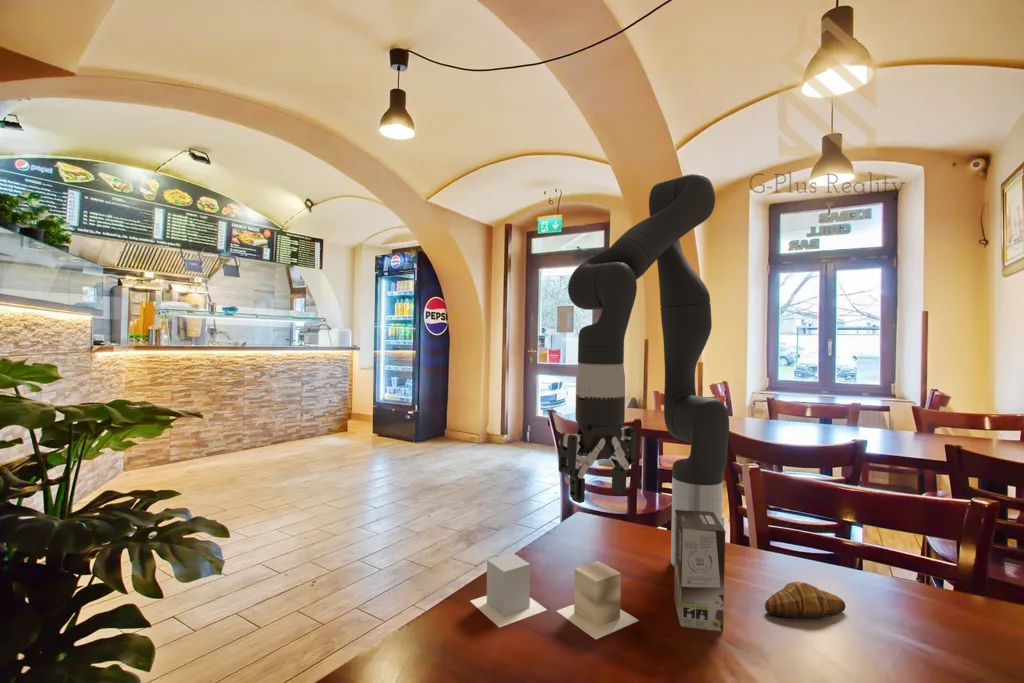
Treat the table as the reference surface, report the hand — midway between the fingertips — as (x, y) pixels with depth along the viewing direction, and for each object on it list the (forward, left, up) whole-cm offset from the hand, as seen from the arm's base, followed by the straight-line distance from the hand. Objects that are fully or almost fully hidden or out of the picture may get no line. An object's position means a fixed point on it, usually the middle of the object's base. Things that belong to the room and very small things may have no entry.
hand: (598, 496), depth 79 cm
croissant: (-31, +16, -20) cm, 40 cm away
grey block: (+10, -10, -18) cm, 23 cm away
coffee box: (-14, +8, -20) cm, 26 cm away
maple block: (0, 0, -18) cm, 18 cm away
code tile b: (+10, -10, -20) cm, 24 cm away
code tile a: (0, 0, -20) cm, 20 cm away
